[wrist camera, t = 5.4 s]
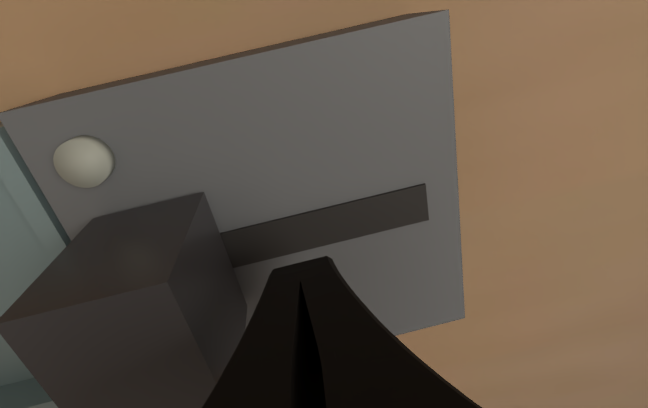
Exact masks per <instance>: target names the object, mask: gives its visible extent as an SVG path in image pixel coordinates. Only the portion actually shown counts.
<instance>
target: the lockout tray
mask: <svg viewBox="0 0 648 408" xmlns="http://www.w3.org/2000/svg"><path fill="white" fill-rule="evenodd" d="M70 242H71V240H70V238H69V236H68V235H67V233H66V231H65V229H64V228H63V226H62V224H61V223H60V221H59V219H58V218H57V216H56V214H55V212H54V211H53V209H52V207H51V206H50V204H49V202H48V200H47V199H46V197H45V195H44V194H43V192H42V190H41V189H40V187H39V185H38V183H37V182H36V180H35V178H34V177H33V175H32V173H31V172H30V170H29V168H28V166H27V165H26V163H25V161H24V160H23V158H22V156H21V155H20V153H19V151H18V149H17V148H16V146H15V144H14V143H13V141H12V139H11V138H10V136H9V134H8V132H7V131H6V129H5V127H4V126H3V124H2V122H0V317H1V316H2V315H3V314H4V313H5V312H6V311H7V310H8V309H9V307H10V306H11V305H12V304H13V303H14V302H15V301H16V300H17V299H18V298H19V297H20V296H21V295H22V294H23V292H24V291H25V290H26V289H27V288H28V287H29V286H30V285H31V284H32V283H33V282H34V281H35V280H36V279H37V278H38V276H39V275H40V274H41V273H42V272H43V271H44V270H45V269H46V268H47V267H48V266H49V265H50V264H51V263H52V261H53V260H54V259H55V258H56V257H57V256H58V255H59V254H60V253H61V252H62V251H63V250H64V249H65V248H66V246H67V245H68V244H69V243H70ZM0 408H58V407H57V406H56V404H55V403H54V402H53V401H52V399H51V398H50V397H49V396H48V394H47V393H46V392H45V390H44V389H43V388H42V387H41V385H40V384H39V383H38V382H37V380H36V379H35V378H34V376H33V375H32V374H31V373H30V371H29V370H28V369H27V368H26V366H25V365H24V364H23V362H22V361H21V360H20V359H19V357H18V356H17V355H16V354H15V352H14V351H13V350H12V349H11V347H10V346H9V345H8V343H7V342H6V341H5V340H4V338H3V337H2V336H1V335H0Z"/></svg>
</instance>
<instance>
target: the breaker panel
mask: <svg viewBox="0 0 648 408" xmlns="http://www.w3.org/2000/svg"><path fill="white" fill-rule="evenodd" d="M0 121H1V122H2V124H3V126H4V127H5V129H6V131H7V132H8V134H9V136H10V138H11V139H12V141H13V143H14V144H15V146H16V148H17V149H18V151H19V153H20V155H21V156H22V158H23V160H24V161H25V163H26V165H27V166H28V168H29V170H30V172H31V173H32V175H33V177H34V178H35V180H36V182H37V183H38V185H39V187H40V189H41V190H42V192H43V194H44V195H45V197H46V199H47V200H48V202H49V204H50V206H51V207H52V209H53V211H54V212H55V214H56V216H57V218H58V219H59V221H60V223H61V224H62V226H63V228H64V229H65V231H66V233H67V235H68V236H69V238H70V240H71V241H72V240H73V239H74V238H75V237H76V236H77V235H78V234H79V233H80V232H81V230H82V229H83V228H84V227H85V226H86V225H87V224H88V223H89V222H90V221H91V220H92V219H93V218H97V217H101V216H105V215H109V214H113V213H117V212H122V211H126V210H130V209H134V208H138V207H142V206H147V205H151V204H155V203H159V202H163V201H167V200H172V199H176V198H180V197H184V196H188V195H192V194H197V193H201V192H204V193H205V196H206V198H207V201H208V204H209V206H210V209H211V212H212V214H213V217H214V219H215V222H216V225H217V227H218V230H219V233H220V235H221V238H222V241H223V243H224V246H225V248H226V251H227V254H228V256H229V259H230V262H231V264H232V267H233V269H234V272H235V275H236V277H237V280H238V283H239V285H240V288H241V291H242V293H243V296H244V298H245V301H246V304H247V316H246V327H247V325H248V323H249V321H250V319H251V317H252V315H253V313H254V311H255V309H256V306H257V304H258V302H259V300H260V297H261V295H262V292H263V290H264V288H265V285H266V283H267V280H268V277H269V275H270V273H271V272H272V270H273V269H276V268H280V267H284V266H288V265H292V264H296V263H300V262H304V261H308V260H312V259H316V258H320V257H324V256H328V257H330V258H332V259H333V262H334V264H335V266H336V267H337V269H338V271H339V272H340V274H341V275H342V277H343V278H344V280H345V281H346V282H347V284H348V285H349V286H350V288H351V289H352V290H353V291H354V293H355V294H356V295H357V296H358V297H359V299H360V300H361V301H362V302H363V303H364V304H365V305H366V306H367V308H368V309H369V310H370V311H371V312H372V313H373V314H374V315H375V316H376V317H377V319H378V320H379V321H380V322H381V323H382V324H383V325H384V326H385V327H386V328H387V329H388V330H389V331H390V332H391V333H392V334H393V335H394V336H396V335H400V334H404V333H408V332H412V331H416V330H420V329H423V328H427V327H431V326H435V325H439V324H443V323H447V322H451V321H455V320H459V319H463V318H465V311H464V292H463V273H462V253H461V234H460V215H459V196H458V176H457V157H456V138H455V118H454V99H453V80H452V61H451V41H450V22H449V10H440V11H431V12H421V13H412V14H406V15H401V16H397V17H392V18H388V19H384V20H379V21H375V22H371V23H366V24H362V25H358V26H353V27H349V28H345V29H340V30H336V31H332V32H327V33H323V34H319V35H314V36H310V37H305V38H301V39H297V40H292V41H288V42H284V43H279V44H275V45H271V46H266V47H262V48H258V49H253V50H249V51H245V52H240V53H236V54H232V55H227V56H223V57H218V58H214V59H210V60H205V61H201V62H197V63H192V64H188V65H184V66H179V67H175V68H171V69H166V70H162V71H158V72H153V73H149V74H145V75H140V76H136V77H131V78H127V79H123V80H118V81H114V82H110V83H105V84H101V85H97V86H92V87H88V88H84V89H79V90H75V91H71V92H66V93H62V94H58V95H55V96H52V97H49V98H45V99H42V100H39V101H36V102H33V103H29V104H26V105H23V106H20V107H17V108H13V109H10V110H7V111H4V112H0ZM245 329H246V328H245Z"/></svg>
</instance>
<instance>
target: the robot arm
mask: <svg viewBox="0 0 648 408" xmlns="http://www.w3.org/2000/svg"><path fill="white" fill-rule="evenodd" d="M202 408H482V407H480V406H479V405H477V404H476V403H475V402H473V401H472V400H471V399H469V398H468V397H467V396H465V395H464V394H463V393H461V392H460V391H459V390H458V389H456V388H455V387H454V386H452V385H451V384H450V383H449V382H447V381H446V380H445V379H443V378H442V377H441V376H440V375H439V374H437V373H436V372H435V371H434V370H433V369H431V368H430V367H429V366H428V365H427V364H425V363H424V362H423V361H422V360H421V359H419V358H418V357H417V356H416V355H415V354H414V353H413V352H412V351H410V350H409V349H408V348H407V347H406V346H405V345H404V344H403V343H402V342H401V341H400V340H399V339H398V338H397V337H395V336H394V335H393V334H392V333H391V332H390V331H389V330H388V329H387V328H386V327H385V326H384V325H383V324H382V323H381V322H380V321H379V320H378V319H377V317H376V316H375V315H374V314H373V313H372V312H371V311H370V310H369V309H368V308H367V306H366V305H365V304H364V303H363V302H362V301H361V300H360V299H359V297H358V296H357V295H356V294H355V293H354V291H353V290H352V289H351V288H350V286H349V285H348V284H347V282H346V281H345V280H344V278H343V277H342V275H341V274H340V272H339V271H338V269H337V267H336V266H335V264H334V262H333V259H332V258H330V257H328V256H324V257H320V258H316V259H312V260H308V261H304V262H300V263H296V264H292V265H288V266H284V267H280V268H276V269H273V270H272V272H271V273H270V275H269V277H268V280H267V283H266V285H265V288H264V290H263V292H262V295H261V297H260V300H259V302H258V304H257V306H256V309H255V311H254V313H253V315H252V317H251V319H250V321H249V323H248V325H247V327H246V329H245V332H244V334H243V336H242V338H241V340H240V342H239V344H238V346H237V348H236V349H235V351H234V353H233V355H232V357H231V358H230V360H229V362H228V364H227V366H226V367H225V369H224V371H223V373H222V375H221V376H220V378H219V380H218V382H217V383H216V385H215V387H214V389H213V390H212V392H211V393H210V395H209V397H208V398H207V400H206V402H205V403H204V405H203V406H202Z"/></svg>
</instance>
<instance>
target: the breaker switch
mask: <svg viewBox="0 0 648 408" xmlns="http://www.w3.org/2000/svg"><path fill="white" fill-rule="evenodd" d="M246 316H247V304H246V301H245V298H244V296H243V293H242V291H241V288H240V285H239V283H238V280H237V277H236V275H235V272H234V269H233V267H232V264H231V262H230V259H229V256H228V254H227V251H226V248H225V246H224V243H223V241H222V238H221V235H220V233H219V230H218V227H217V225H216V222H215V219H214V217H213V214H212V212H211V209H210V206H209V204H208V201H207V198H206V196H205V193H204V192H201V193H197V194H192V195H188V196H184V197H180V198H176V199H172V200H167V201H163V202H159V203H155V204H151V205H147V206H142V207H138V208H134V209H130V210H126V211H122V212H117V213H113V214H109V215H105V216H101V217H97V218H93V219H92V220H91V221H90V222H89V223H88V224H87V225H86V226H85V227H84V228H83V229H82V230H81V232H80V233H79V234H78V235H77V236H76V237H75V238H74V239H73V240H72V241H71V242H70V243H69V244H68V245H67V246H66V248H65V249H64V250H63V251H62V252H61V253H60V254H59V255H58V256H57V257H56V258H55V259H54V260H53V261H52V263H51V264H50V265H49V266H48V267H47V268H46V269H45V270H44V271H43V272H42V273H41V274H40V275H39V276H38V278H37V279H36V280H35V281H34V282H33V283H32V284H31V285H30V286H29V287H28V288H27V289H26V290H25V291H24V292H23V294H22V295H21V296H20V297H19V298H18V299H17V300H16V301H15V302H14V303H13V304H12V305H11V306H10V307H9V309H8V310H7V311H6V312H5V313H4V314H3V315H2V316H1V317H0V335H1V336H2V337H3V338H4V340H5V341H6V342H7V343H8V345H9V346H10V347H11V349H12V350H13V351H14V352H15V354H16V355H17V356H18V357H19V359H20V360H21V361H22V362H23V364H24V365H25V366H26V368H27V369H28V370H29V371H30V373H31V374H32V375H33V376H34V378H35V379H36V380H37V382H38V383H39V384H40V385H41V387H42V388H43V389H44V390H45V392H46V393H47V394H48V396H49V397H50V398H51V399H52V401H53V402H54V403H55V404H56V406H57V407H58V408H202V406H203V405H204V403H205V402H206V400H207V398H208V397H209V395H210V393H211V392H212V390H213V389H214V387H215V385H216V383H217V382H218V380H219V378H220V376H221V375H222V373H223V371H224V369H225V367H226V366H227V364H228V362H229V360H230V358H231V357H232V355H233V353H234V351H235V349H236V348H237V346H238V344H239V342H240V340H241V338H242V336H243V334H244V332H245V328H246Z"/></svg>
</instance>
